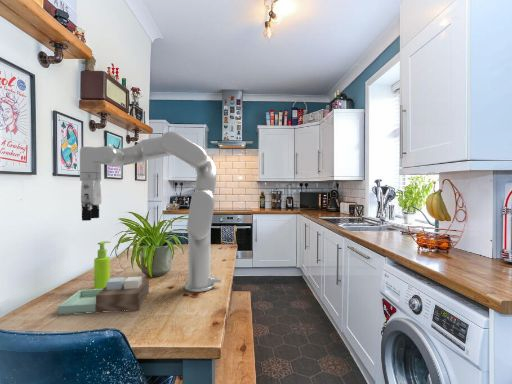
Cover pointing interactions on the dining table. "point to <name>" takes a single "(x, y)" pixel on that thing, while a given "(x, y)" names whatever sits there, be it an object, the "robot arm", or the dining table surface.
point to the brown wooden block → (122, 298)
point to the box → (80, 302)
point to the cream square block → (132, 282)
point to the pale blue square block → (115, 283)
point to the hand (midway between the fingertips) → (90, 219)
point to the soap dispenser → (101, 267)
